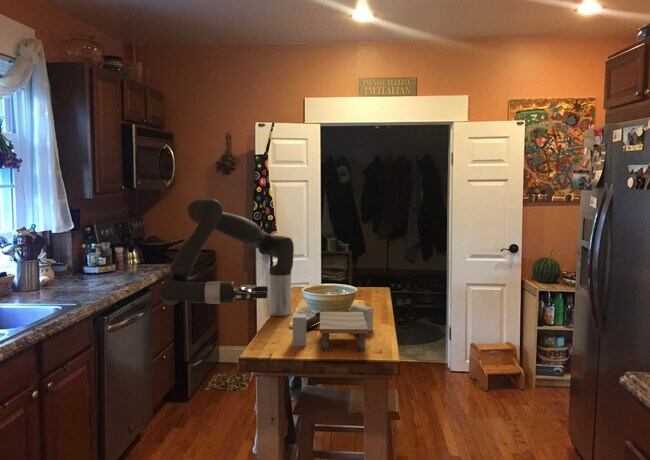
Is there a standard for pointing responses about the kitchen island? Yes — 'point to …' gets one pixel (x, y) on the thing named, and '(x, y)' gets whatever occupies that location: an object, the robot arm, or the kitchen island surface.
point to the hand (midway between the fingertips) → (267, 292)
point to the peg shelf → (343, 326)
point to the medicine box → (365, 314)
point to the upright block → (299, 330)
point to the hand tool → (313, 320)
